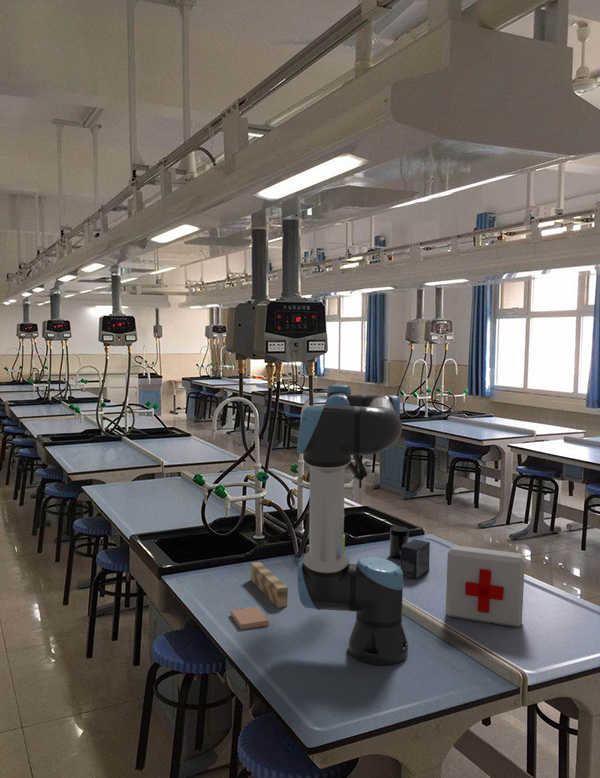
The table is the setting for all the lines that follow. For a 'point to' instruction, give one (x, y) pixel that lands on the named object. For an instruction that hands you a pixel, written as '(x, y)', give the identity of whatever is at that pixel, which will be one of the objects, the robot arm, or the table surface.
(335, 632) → the table surface
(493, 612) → the bevelled white case
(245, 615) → the tile
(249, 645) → the table surface
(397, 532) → the supplement container
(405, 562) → the small box
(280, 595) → the push bar
